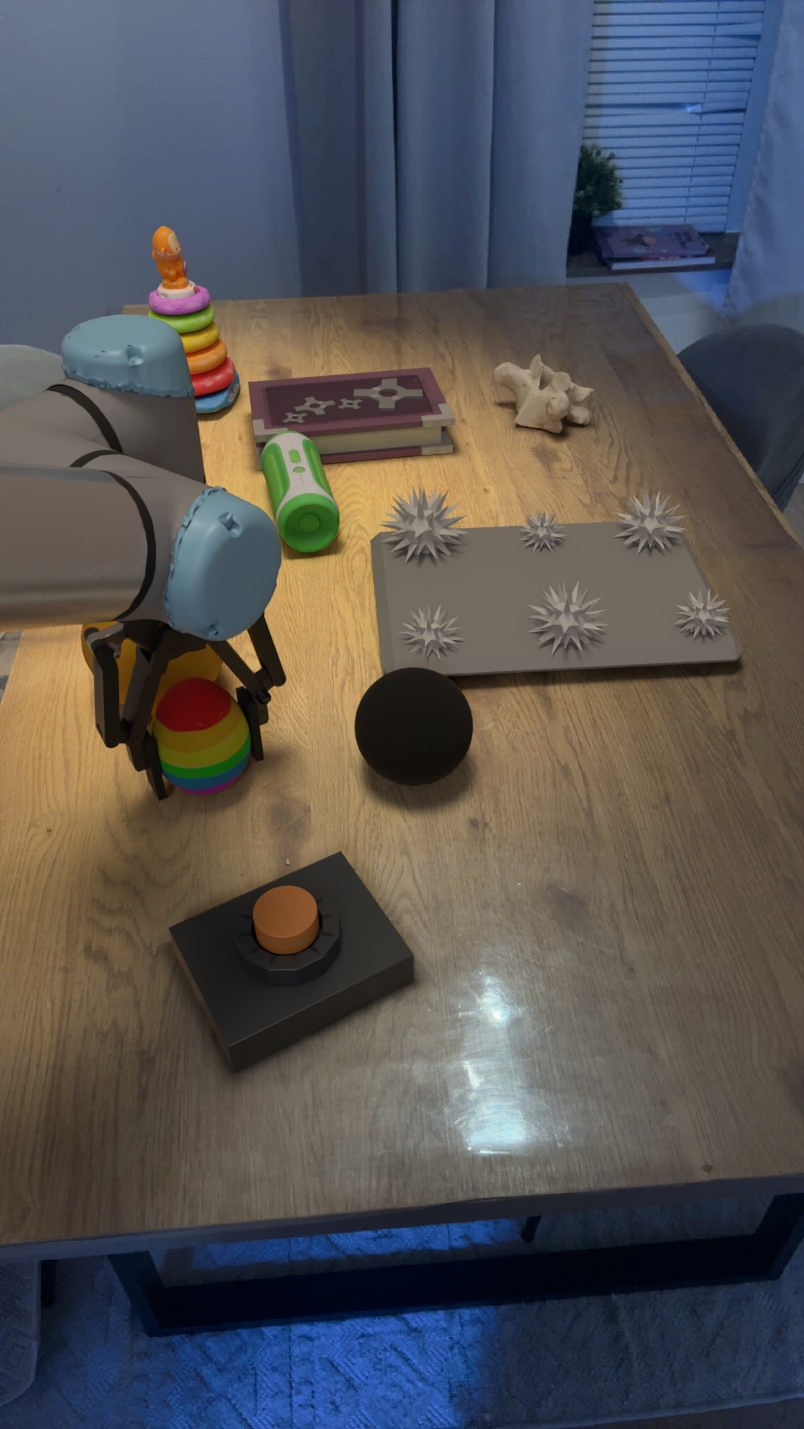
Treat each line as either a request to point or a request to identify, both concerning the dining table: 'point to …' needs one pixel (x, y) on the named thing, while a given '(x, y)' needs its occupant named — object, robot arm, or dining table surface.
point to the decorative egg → (200, 736)
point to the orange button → (286, 920)
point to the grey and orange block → (291, 963)
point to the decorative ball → (413, 726)
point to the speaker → (299, 492)
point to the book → (356, 414)
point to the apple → (178, 669)
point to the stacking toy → (192, 326)
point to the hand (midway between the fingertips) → (206, 770)
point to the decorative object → (544, 395)
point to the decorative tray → (543, 594)
